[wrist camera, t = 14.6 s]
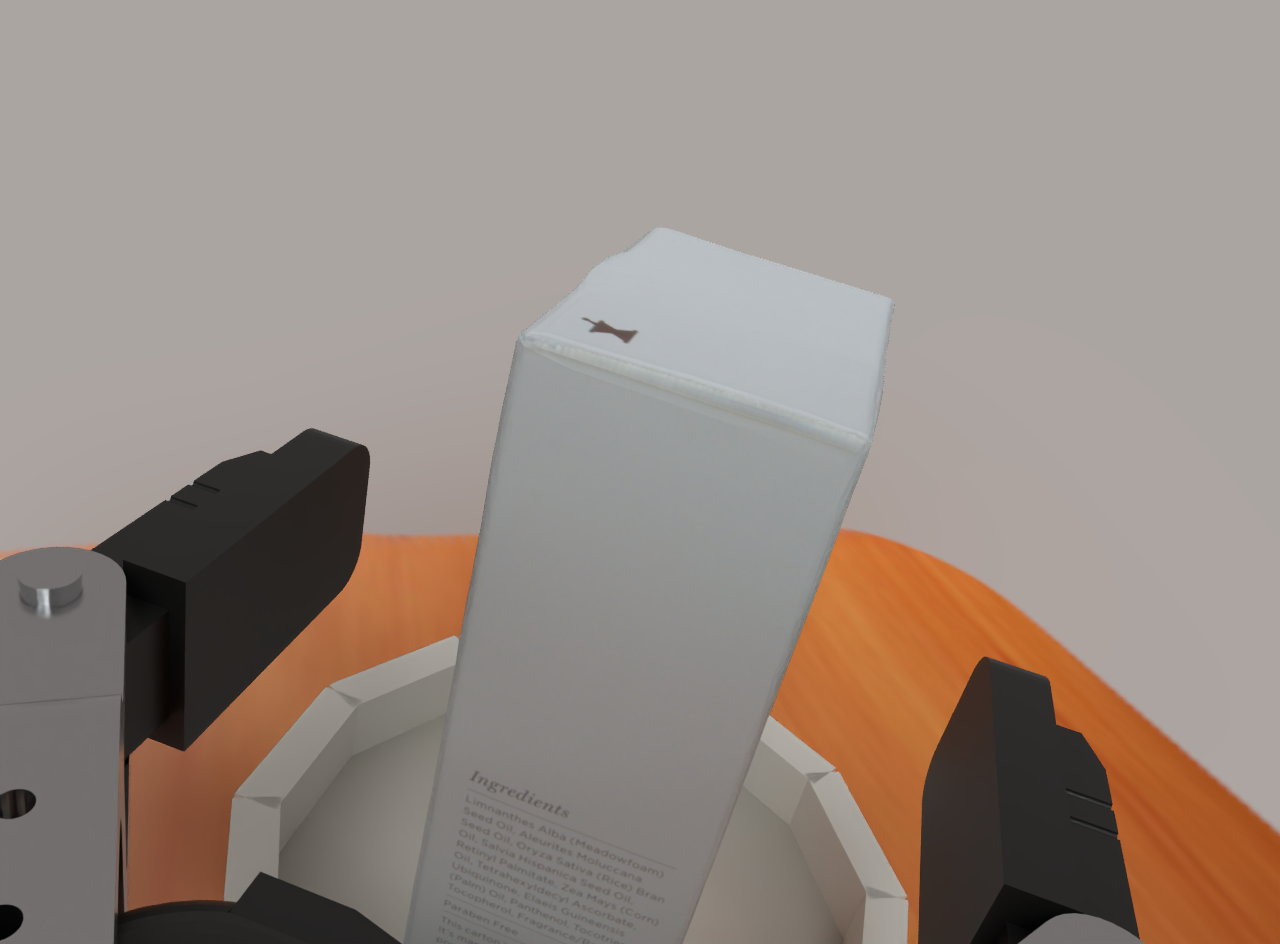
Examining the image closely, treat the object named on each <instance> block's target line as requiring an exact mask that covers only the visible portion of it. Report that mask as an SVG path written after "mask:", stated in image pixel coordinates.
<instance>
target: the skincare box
mask: <svg viewBox="0 0 1280 944" xmlns="http://www.w3.org/2000/svg"><path fill="white" fill-rule="evenodd" d="M893 310H894V303H893V301H892V299H890V298H888V297H885V296H881V295H878V294H875V293H871V292H868V291H865V290H862V289H859V288H856V287H852V286H849V285H846V284H843V283H840V282H837V281H833V280H830V279H827V278H823V277H820V276H817V275H814V274H810V273H807V272H804V271H801V270H797V269H794V268H791V267H788V266H784V265H781V264H778V263H775V262H771V261H768V260H764V259H761V258H758V257H755V256H752V255H749V254H745V253H742V252H738V251H736V250H732V249H729V248H726V247H723V246H720V245H717V244H714V243H711V242H708V241H705V240H702V239H699V238H696V237H693V236H690V235H687V234H684V233H681V232H678V231H675V230H672V229H668V228H663V227H658V228H655V229H653V230H652V231H650V232H648V233H647V234H646V235H644V236H643V237H642V238H641V239H639V240H638V241H637V242H635V243H634V244H633V245H631V246H630V247H629V248H627V249H626V250H625V251H624V252H623V253H620V254H616V255H613V256H610V257H608V258H606V259H605V260H604V261H602V262H601V263H600V264H599V265H597V266H595V267H594V268H593V269H591V270H590V271H589V272H588V273H587V275H586V276H585V278H584V280H583V281H582V282H581V283H580V284H579V285H578V286H577V287H576V288H575V289H574V290H573V291H572V292H570V293H569V294H568V295H567V296H565V297H564V298H563V299H562V300H561V301H560V302H559V303H558V304H556V305H555V306H554V307H553V308H551V309H550V310H549V311H547V312H546V313H545V314H543V315H542V316H541V317H540V318H539V319H537V320H536V321H535V322H534V323H533V324H531V325H530V326H529V327H528V328H526V329H525V330H524V331H522V332H521V333H520V335H519V337H518V340H517V341H516V346H515V350H514V355H513V360H512V365H511V370H510V375H509V380H508V384H507V389H506V393H505V398H504V402H503V407H502V412H501V417H500V422H499V427H498V433H497V438H496V443H495V448H494V453H493V458H492V463H491V469H490V475H489V481H488V488H487V493H486V499H485V505H484V511H483V517H482V524H481V530H480V534H479V540H478V545H477V550H476V555H475V561H474V566H473V572H472V577H471V583H470V588H469V593H468V598H467V603H466V608H465V613H464V619H463V625H462V630H461V634H460V639H459V645H458V651H457V658H456V664H455V670H454V675H453V680H452V686H451V691H450V696H449V701H448V707H447V712H446V717H445V723H444V728H443V734H442V740H441V746H440V751H439V755H438V760H437V765H436V771H435V777H434V782H433V788H432V793H431V798H430V802H429V807H428V812H427V817H426V822H425V827H424V833H423V838H422V844H421V850H420V855H419V860H418V865H417V870H416V875H415V880H414V885H413V891H412V898H411V904H410V910H409V914H408V918H407V925H406V931H405V937H404V941H403V944H683V942H684V939H685V936H686V934H687V931H688V928H689V925H690V923H691V920H692V918H693V915H694V913H695V910H696V907H697V905H698V902H699V899H700V897H701V894H702V891H703V889H704V886H705V883H706V881H707V878H708V876H709V873H710V871H711V869H712V866H713V863H714V861H715V858H716V855H717V853H718V850H719V848H720V845H721V842H722V840H723V837H724V834H725V832H726V829H727V826H728V824H729V821H730V818H731V815H732V813H733V810H734V807H735V805H736V802H737V799H738V796H739V794H740V791H741V789H742V786H743V783H744V781H745V778H746V775H747V773H748V770H749V768H750V765H751V762H752V760H753V757H754V754H755V752H756V749H757V746H758V743H759V741H760V738H761V735H762V733H763V730H764V727H765V725H766V722H767V719H768V717H769V714H770V712H771V709H772V707H773V704H774V701H775V699H776V696H777V693H778V691H779V688H780V685H781V682H782V680H783V677H784V675H785V672H786V670H787V667H788V664H789V662H790V659H791V657H792V654H793V651H794V649H795V646H796V643H797V641H798V638H799V635H800V633H801V630H802V628H803V625H804V623H805V620H806V617H807V615H808V612H809V610H810V607H811V604H812V602H813V599H814V596H815V594H816V591H817V589H818V586H819V583H820V581H821V578H822V575H823V573H824V570H825V567H826V565H827V562H828V559H829V557H830V554H831V551H832V549H833V546H834V543H835V541H836V538H837V535H838V533H839V530H840V527H841V524H842V522H843V519H844V516H845V513H846V510H847V508H848V505H849V502H850V500H851V497H852V494H853V491H854V489H855V486H856V484H857V481H858V479H859V476H860V474H861V471H862V469H863V466H864V463H865V461H866V458H867V456H868V453H869V450H870V446H871V442H872V438H873V435H874V431H875V427H876V423H877V419H878V415H879V410H880V405H881V399H882V393H883V384H884V373H885V363H886V353H887V347H888V341H889V334H890V328H891V321H892V315H893Z"/></svg>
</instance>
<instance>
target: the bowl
mask: <svg viewBox="0 0 1280 944" xmlns="http://www.w3.org/2000/svg"><path fill="white" fill-rule="evenodd" d="M459 639H460V634H459ZM459 639H458V638H457V637H456V636H455V635H454V636H451V637H449V638H446V639H444V640H441V641H438V642H436V643H433V644H431V645H428V646H426V647H423V648H421V649H418V650H415V651H413V652H410V653H408V654H405V655H403V656H400V657H398V658H395V659H393V660H390V661H387V662H385V663H382V664H380V665H377V666H375V667H372V668H370V669H367V670H364V671H362V672H359V673H357V674H354V675H352V676H349V677H347V678H344V679H341V680H339V681H336V682H334V683H331V684H330V687H329V688H328V687H325V688H324V689H323V691H322V692H321V693H320V694H319V695H318V696H317V698H316V699H315V700H314V701H313V702H312V703H311V705H310V706H309V707H308V708H307V709H306V710H305V712H304V713H303V714H302V715H301V716H300V717H299V719H298V720H297V721H296V722H295V723H294V724H293V726H292V727H291V728H290V729H289V730H288V731H287V733H286V734H285V735H284V736H283V737H282V738H281V740H280V741H279V742H278V743H277V744H276V745H275V747H274V748H273V749H272V750H271V751H270V752H269V754H268V755H267V756H266V757H265V758H264V759H263V760H262V762H261V763H260V764H259V765H258V766H257V767H256V769H255V770H254V771H253V772H252V773H251V774H250V776H249V777H248V778H247V779H246V780H245V781H244V783H243V784H242V785H241V786H240V787H239V788H238V790H237V791H236V792H235V794H234V798H232V808H231V820H230V831H229V843H228V855H227V867H226V878H225V890H224V901H232V902H237V901H238V900H239V899H240V897H241V896H242V895H243V893H244V892H245V891H246V889H247V888H248V887H249V885H250V884H251V883H252V882H253V880H254V879H255V878H256V876H257V875H258V874H259V872H263V873H265V874H268V875H270V876H273V877H275V878H278V879H280V880H283V881H285V882H288V883H290V884H293V885H295V886H298V887H300V888H303V889H305V890H308V891H310V892H313V893H315V894H318V895H320V896H323V897H325V898H328V899H330V900H333V901H335V902H338V903H340V904H343V905H345V906H348V907H350V908H353V909H355V910H357V911H358V912H360V913H361V914H362V915H364V916H365V917H367V918H368V919H369V920H371V921H372V922H373V923H375V924H376V925H377V926H379V927H380V928H381V929H383V930H384V931H385V932H387V933H388V934H389V935H391V936H392V937H394V938H395V939H396V940H398V941H399V942H400V943H402V944H403V941H404V937H405V931H406V925H407V918H408V914H409V910H410V904H411V898H412V891H413V885H414V880H415V875H416V870H417V865H418V860H419V855H420V850H421V844H422V838H423V833H424V827H425V822H426V817H427V812H428V807H429V802H430V798H431V793H432V788H433V782H434V777H435V771H436V765H437V760H438V755H439V751H440V746H441V740H442V734H443V728H444V723H445V717H446V712H447V707H448V701H449V696H450V691H451V686H452V680H453V675H454V670H455V664H456V658H457V651H458V645H459ZM835 769H836V768H835V767H834V766H833V765H831V764H830V763H829V762H828V761H826V760H825V759H824V758H823V757H821V756H820V755H819V754H818V753H816V752H815V751H814V750H813V749H811V748H810V747H809V746H808V745H806V744H805V743H804V742H803V741H801V740H800V739H799V738H797V737H796V736H795V735H794V734H792V733H791V732H790V731H789V730H787V729H786V728H785V727H784V726H782V725H781V724H780V723H779V722H777V721H776V720H775V719H774V718H772V717H771V716H770V715H769V717H768V719H767V722H766V725H765V727H764V730H763V733H762V735H761V738H760V741H759V743H758V746H757V749H756V752H755V754H754V757H753V760H752V762H751V765H750V768H749V770H748V773H747V775H746V778H745V781H744V783H743V786H742V789H741V791H740V794H739V796H738V799H737V802H736V805H735V807H734V810H733V813H732V815H731V818H730V821H729V824H728V826H727V829H726V832H725V834H724V837H723V840H722V842H721V845H720V848H719V850H718V853H717V855H716V858H715V861H714V863H713V866H712V869H711V871H710V873H709V876H708V878H707V881H706V883H705V886H704V889H703V891H702V894H701V897H700V899H699V902H698V905H697V907H696V910H695V913H694V915H693V918H692V920H691V923H690V925H689V928H688V931H687V934H686V936H685V939H684V942H683V944H907V929H908V901H907V900H905V899H906V897H907V895H906V893H905V891H904V890H903V888H902V886H901V884H900V882H899V880H898V879H897V877H896V875H895V873H894V871H893V869H892V868H891V866H890V864H889V862H888V860H887V858H886V857H885V855H884V853H883V851H882V849H881V847H880V846H879V844H878V842H877V840H876V838H875V837H874V835H873V833H872V831H871V829H870V827H869V826H868V824H867V822H866V820H865V818H864V816H863V815H862V813H861V811H860V809H859V807H858V805H857V804H856V802H855V800H854V798H853V796H852V794H851V793H850V791H849V789H848V787H847V785H846V783H845V782H844V780H843V778H842V776H841V774H840V772H834V771H835Z"/></svg>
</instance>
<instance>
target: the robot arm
mask: <svg viewBox="0 0 1280 944" xmlns="http://www.w3.org/2000/svg"><path fill="white" fill-rule="evenodd" d="M369 468H370V455H369V451H368V449H367V448H366V446H364V445H361V444H358V443H355V442H352V441H349V440H346V439H343V438H340V437H337V436H334V435H331V434H328V433H325V432H322V431H319V430H316V429H313V428H312V429H307V430H305V431H303V432H302V433H301V434H299V435H298V436H296V437H295V438H294V439H292V440H291V441H289V442H288V443H287V444H285V445H284V446H282V447H281V448H279V449H278V450H277V451H275V452H274V453H272V454H269V453H266V452H263V451H258V452H254V453H251V454H247V455H244V456H241V457H237V458H234V459H230V460H227V461H224V462H221V463H220V464H218V465H217V466H215V467H214V468H212V469H211V470H209V471H208V472H207V473H205V474H203V475H202V476H200V477H199V478H197V479H196V480H194V483H193V485H192V486H191V485H187V486H185V487H184V488H182V489H181V490H180V491H178V492H177V493H175V494H174V495H172V496H171V499H170V501H166V500H165V501H163V502H162V503H160V504H159V505H157V506H156V507H154V508H153V509H151V510H150V511H148V512H147V513H145V514H144V515H142V516H141V517H140V518H138V519H136V520H135V521H134V522H132V523H131V524H129V525H127V526H126V527H125V528H123V529H122V530H120V531H119V532H117V533H116V534H114V535H113V536H111V537H110V538H108V539H107V540H105V541H104V542H102V543H101V544H99V545H98V546H96V547H95V548H93V549H92V550H85V549H81V548H71V547H50V548H40V549H34V550H29V551H25V552H21V553H17V554H14V555H12V556H9V557H6V558H4V559H2V560H0V944H402V943H400V942H399V941H398V940H396V939H395V938H394V937H392V936H391V935H389V934H388V933H387V932H385V931H384V930H383V929H381V928H380V927H379V926H377V925H376V924H375V923H373V922H372V921H371V920H369V919H368V918H367V917H365V916H364V915H362V914H361V913H360V912H358V911H357V910H355V909H353V908H350V907H348V906H345V905H343V904H340V903H338V902H335V901H333V900H330V899H328V898H325V897H323V896H320V895H318V894H315V893H313V892H310V891H308V890H305V889H303V888H300V887H298V886H295V885H293V884H290V883H288V882H285V881H283V880H280V879H278V878H275V877H273V876H270V875H268V874H265V873H263V872H259V874H258V875H257V876H256V878H255V879H254V880H253V882H252V883H251V884H250V885H249V887H248V888H247V889H246V891H245V892H244V893H243V895H242V896H241V897H240V899H239V900H238V901H237V902H232V901H218V900H192V901H179V902H169V903H163V904H157V905H152V906H146V907H141V908H137V909H134V910H130V911H128V881H129V822H130V754H131V753H132V752H133V751H134V750H135V749H136V748H137V747H138V746H139V745H141V744H142V743H143V742H144V741H145V740H146V739H147V738H150V739H153V740H155V741H158V742H160V743H163V744H166V745H168V746H171V747H173V748H176V749H178V750H181V751H185V750H186V749H187V748H188V747H189V746H190V745H191V744H192V743H193V742H194V741H195V740H196V739H197V738H198V737H199V736H200V735H201V734H202V733H203V732H204V731H205V730H206V729H207V728H208V727H209V726H210V725H211V724H212V723H213V722H214V720H215V719H216V718H217V717H218V716H219V715H220V714H221V713H222V712H223V711H224V710H225V709H226V708H227V707H228V706H229V705H230V704H231V703H232V702H233V701H234V700H235V699H236V698H237V697H238V696H239V695H240V694H241V693H242V692H243V691H244V690H245V689H246V688H247V687H248V686H249V685H250V684H251V683H252V682H253V681H254V680H255V679H256V678H257V677H258V676H259V675H260V674H261V673H262V672H263V671H264V670H265V668H266V667H267V666H268V665H269V664H270V663H271V662H272V661H273V660H274V659H275V658H276V657H277V656H278V655H279V654H280V653H281V652H282V651H283V650H284V649H285V648H286V647H287V646H288V645H289V644H290V643H291V642H292V641H293V640H294V639H295V638H296V637H297V636H298V635H299V634H300V633H301V632H302V631H303V630H304V629H305V628H306V627H307V626H308V625H309V624H310V623H311V622H312V621H313V620H314V619H315V618H316V616H317V615H318V614H319V613H320V612H321V611H322V610H323V609H324V608H325V607H326V606H327V605H328V604H329V603H330V602H331V601H332V600H333V599H334V598H335V597H336V596H337V595H338V594H339V593H340V592H341V591H342V590H343V588H344V587H345V585H346V584H347V582H348V581H349V579H350V577H351V575H352V573H353V571H354V569H355V566H356V563H357V561H358V557H359V554H360V549H361V542H362V533H363V524H364V515H365V505H366V496H367V486H368V478H369ZM1111 807H1112V799H1111V794H1110V789H1109V784H1108V779H1107V774H1106V770H1105V768H1104V767H1103V765H1102V764H1101V762H1100V761H1099V759H1098V758H1097V756H1096V754H1095V753H1094V751H1093V750H1092V748H1091V747H1090V745H1089V744H1088V742H1087V741H1086V739H1085V738H1084V736H1083V735H1082V733H1079V732H1076V731H1073V730H1070V729H1067V728H1064V727H1061V726H1059V725H1056V720H1055V713H1054V706H1053V700H1052V693H1051V686H1050V682H1049V680H1048V678H1047V677H1045V676H1042V675H1039V674H1036V673H1033V672H1030V671H1027V670H1024V669H1021V668H1018V667H1015V666H1012V665H1009V664H1006V663H1003V662H1000V661H997V660H994V659H991V658H989V657H983V658H982V659H981V660H980V661H979V663H978V664H977V666H976V667H975V669H974V671H973V673H972V675H971V677H970V679H969V681H968V683H967V685H966V688H965V690H964V692H963V694H962V696H961V698H960V700H959V702H958V704H957V706H956V708H955V710H954V713H953V715H952V717H951V719H950V721H949V723H948V725H947V727H946V729H945V731H944V733H943V735H942V737H941V740H940V742H939V744H938V746H937V748H936V750H935V752H934V755H933V757H932V760H931V763H930V766H929V769H928V773H927V777H926V781H925V785H924V791H923V798H922V825H921V861H920V897H919V934H918V944H1145V943H1143V942H1142V941H1141V940H1140V938H1139V933H1138V928H1137V923H1136V918H1135V913H1134V908H1133V903H1132V898H1131V893H1130V888H1129V883H1128V878H1127V873H1126V868H1125V864H1124V859H1123V854H1122V849H1121V844H1120V840H1118V839H1117V835H1118V829H1117V824H1116V819H1115V814H1114V811H1112V810H1111Z"/></svg>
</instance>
